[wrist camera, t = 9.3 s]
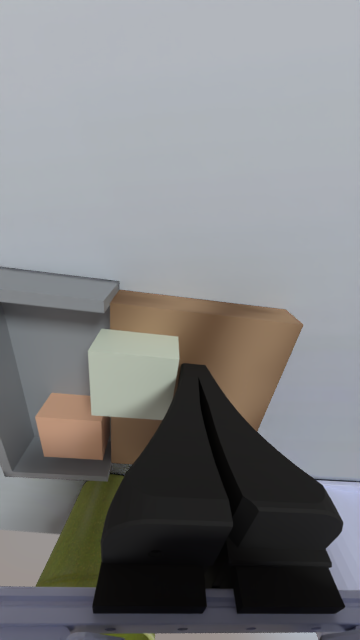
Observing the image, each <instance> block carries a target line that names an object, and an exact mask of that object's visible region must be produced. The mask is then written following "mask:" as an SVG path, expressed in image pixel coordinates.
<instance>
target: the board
mask: <svg viewBox="0 0 360 640" xmlns="http://www.w3.org/2000/svg"><path fill="white" fill-rule="evenodd" d="M302 327H303V324H302V323H301V322H300V321H298V320H297V319H296V318H295V317H294V316H293V315H291V314H290V313H289V312H288V311H287V310H285V309H277V308H268V307H260V306H251V305H243V304H234V303H226V302H218V301H209V300H201V299H192V298H184V297H176V296H167V295H159V294H150V293H142V292H134V291H125V290H119V291H118V292H117V294H116V295H115V296H114V298H113V299H112V301H111V302H110V330H119V331H129V332H139V333H148V334H158V335H168V336H177V337H178V341H179V365H178V371H177V377H176V382H175V388H174V394H173V397H174V395H175V393H176V390H177V386H178V381H179V375H180V369H181V364H183V363H189V364H200V365H206V367H207V368H208V370H209V371H210V373H211V375H212V376H213V378H214V379H215V381H216V382H217V384H218V385H219V387H220V388H221V390H222V391H223V393H224V394H225V395H226V397H227V398H228V399H229V401H230V402H231V403H232V405H233V406H234V407H235V408H236V410H237V411H238V412H239V413H240V414H241V416H242V417H243V418H244V419H245V420H246V421H247V422H248V423H249V424H250V425H251V426H252V427H253V428H254V429H255V430H256V431H258V428H259V426H260V424H261V421H262V419H263V417H264V415H265V412H266V410H267V408H268V405H269V403H270V401H271V398H272V396H273V394H274V391H275V389H276V387H277V385H278V382H279V380H280V378H281V375H282V373H283V371H284V368H285V366H286V364H287V361H288V359H289V357H290V355H291V352H292V350H293V348H294V345H295V343H296V341H297V338H298V336H299V334H300V332H301V329H302ZM161 422H162V420H153V419H139V418H124V417H111V463H121V464H133V463H134V462H135V461H136V459H137V458H138V457H139V456H140V454H141V453H142V451H143V450H144V449H145V447H146V446H147V444H148V443H149V441H150V440H151V438H152V437H153V435H154V434H155V432H156V431H157V429H158V427H159V425H160V424H161Z"/></svg>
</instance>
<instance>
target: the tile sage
mask: <svg viewBox="0 0 360 640" xmlns="http://www.w3.org/2000/svg"><path fill="white" fill-rule="evenodd" d="M88 362H89V380H90V397H91V415H94V416H109V417H124V418H139V419H153V420H163V418H164V417H165V415H166V413H167V411H168V409H169V407H170V404H171V402H172V400H173V394H174V388H175V382H176V377H177V371H178V365H179V341H178V337H177V336H168V335H158V334H148V333H139V332H129V331H119V330H110V329H101V330H100V332H99V333H98V335H97V337H96V338H95V340H94V342H93V343H92V345H91V346H90V348H89V350H88Z"/></svg>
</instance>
